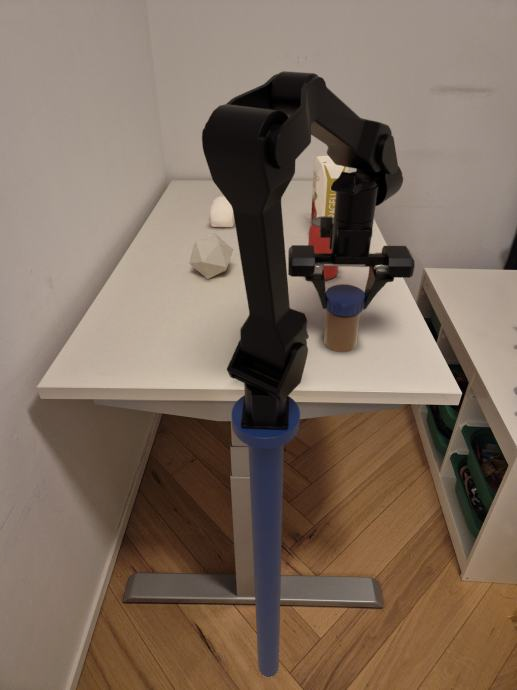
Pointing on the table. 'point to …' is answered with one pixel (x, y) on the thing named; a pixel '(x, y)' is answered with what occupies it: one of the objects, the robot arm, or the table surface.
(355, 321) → the jar
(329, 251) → the beer can
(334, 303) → the lid
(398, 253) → the robot arm
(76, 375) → the table surface
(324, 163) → the juice carton
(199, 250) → the die
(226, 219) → the computer mouse
